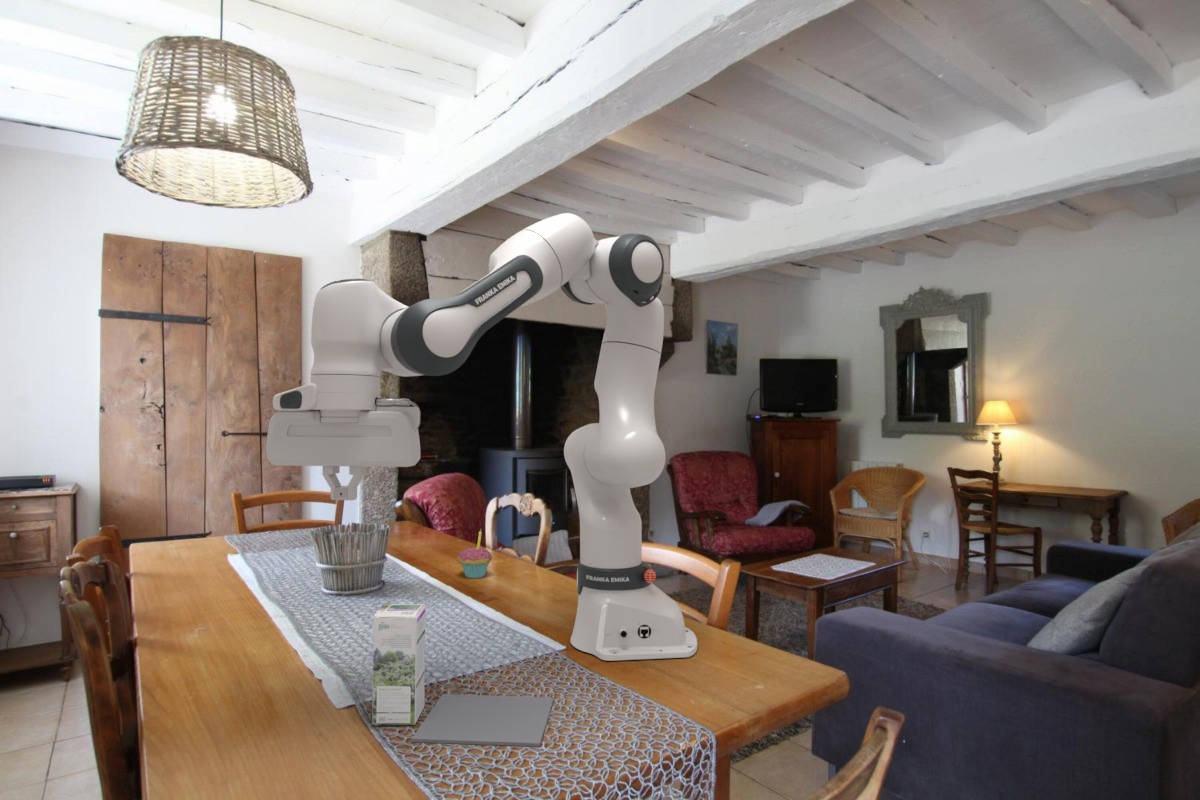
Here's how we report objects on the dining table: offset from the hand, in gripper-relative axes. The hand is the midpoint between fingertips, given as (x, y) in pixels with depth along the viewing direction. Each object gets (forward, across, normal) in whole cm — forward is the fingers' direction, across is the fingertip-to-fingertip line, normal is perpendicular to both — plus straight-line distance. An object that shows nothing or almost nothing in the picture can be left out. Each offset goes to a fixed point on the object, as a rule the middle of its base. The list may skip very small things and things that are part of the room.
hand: (343, 499), depth 89 cm
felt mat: (+29, -20, 0) cm, 35 cm away
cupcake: (+29, +1, -76) cm, 81 cm away
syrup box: (+29, -8, 0) cm, 30 cm away
